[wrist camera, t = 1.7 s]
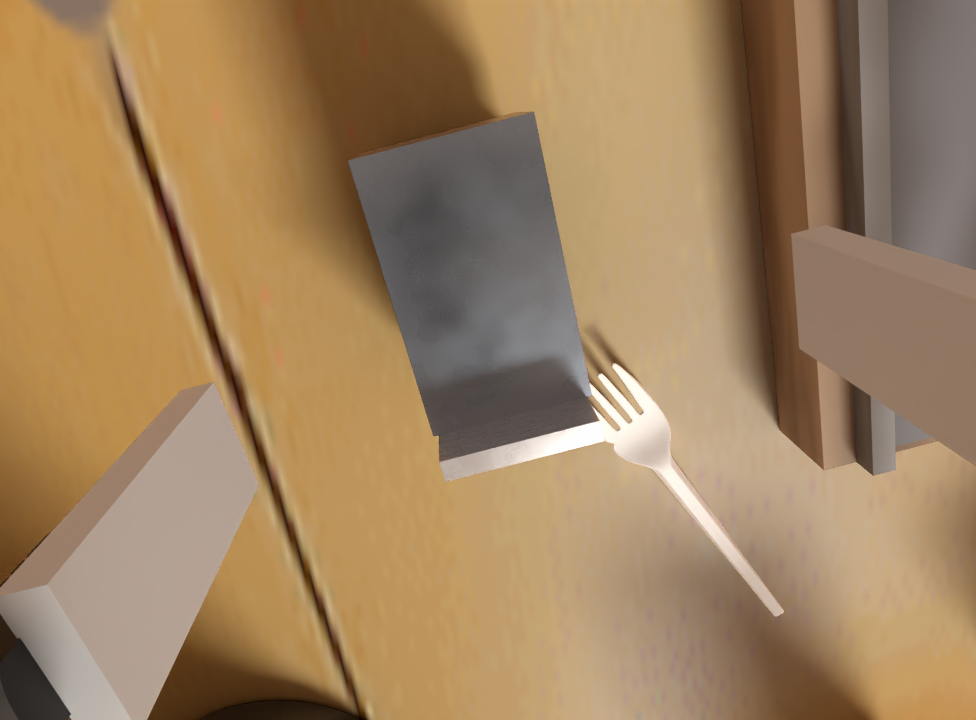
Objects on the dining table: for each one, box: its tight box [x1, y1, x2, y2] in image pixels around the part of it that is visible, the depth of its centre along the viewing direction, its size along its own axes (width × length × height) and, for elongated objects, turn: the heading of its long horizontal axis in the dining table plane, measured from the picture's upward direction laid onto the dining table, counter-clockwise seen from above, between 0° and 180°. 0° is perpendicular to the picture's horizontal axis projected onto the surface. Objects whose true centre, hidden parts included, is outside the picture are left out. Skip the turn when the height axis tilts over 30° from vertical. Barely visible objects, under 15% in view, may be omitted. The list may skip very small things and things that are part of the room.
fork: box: [589, 363, 784, 617], centre depth 34 cm, size 3×20×2 cm, turn 38°
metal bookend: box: [348, 112, 604, 482], centre depth 25 cm, size 6×11×9 cm, turn 14°
